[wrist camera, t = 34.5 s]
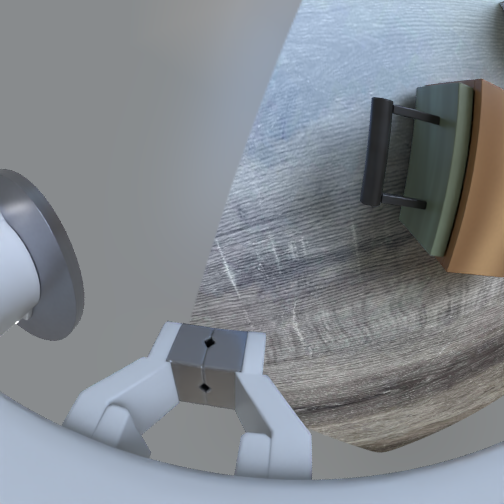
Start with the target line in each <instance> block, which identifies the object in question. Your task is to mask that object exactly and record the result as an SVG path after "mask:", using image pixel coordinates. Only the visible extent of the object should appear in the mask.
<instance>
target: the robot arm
mask: <svg viewBox="0 0 504 504" xmlns="http://www.w3.org/2000/svg"><path fill="white" fill-rule="evenodd" d="M39 299H40V283H39V278H38V274H37V271H36V268H35V266H34V263H33V261H32V258H31V256H30V254H29V252H28V250H27V249H26V247H25V245H24V243H23V242H22V240H21V239H20V237H19V236H18V235H17V234H16V232H15V231H14V230H13V229H12V228H11V227H10V226H9V225H8V224H7V222H6V221H5V219H4V217H3V216H2V214H1V212H0V337H1V336H2V335H3V334H4V333H5V332H6V331H8V330H9V329H10V328H11V327H12V326H13V325H15V324H17V323H18V321H19V320H21V319H22V318H23V319H24V320H28V319H29V318H31V316H32V309H33V307H34V306H35V305H37V303H38V302H39ZM265 342H266V333H264V332H251V331H249V332H248V331H238V330H228V329H218V328H210V327H204V326H197V325H191V324H185V323H183V324H182V323H176V322H171V321H167V322H166V323H165V324H164V325H163V327H162V329H161V331H160V333H159V335H158V337H157V339H156V341H155V343H154V345H153V347H152V349H151V351H150V353H149V355H148V357H147V358H146V357H141V358H139V359H138V360H136V361H134V362H133V363H131V364H129V365H128V366H126V367H124V368H122V369H120V370H119V371H117V372H115V373H113V374H112V375H110V376H108V377H106V378H105V379H103V380H101V381H99V382H97V383H96V384H94V385H92V386H90V387H89V388H87V389H85V390H83V391H82V392H81V393H80V394H79V396H78V397H77V399H76V401H75V403H74V404H73V406H72V408H71V410H70V411H69V413H68V415H67V417H66V419H65V420H64V422H63V424H62V426H61V425H59V424H57V423H55V422H53V421H51V420H49V419H47V418H45V417H43V416H41V415H39V414H37V413H35V412H34V411H32V410H30V409H28V408H26V407H24V406H23V405H21V404H20V403H18V402H16V401H15V400H13V399H11V398H10V397H8V396H7V395H5V394H3V393H2V392H0V504H504V441H502V442H500V443H498V444H495V445H492V446H490V447H488V448H485V449H482V450H479V451H476V452H473V453H470V454H467V455H464V456H461V457H458V458H455V459H451V460H448V461H444V462H440V463H437V464H433V465H429V466H425V467H420V468H415V469H411V470H405V471H400V472H394V473H388V474H382V475H373V476H366V477H356V478H343V479H324V480H312V437H311V433H310V432H309V431H308V429H307V428H306V427H305V425H304V424H303V423H302V422H301V420H300V419H299V418H298V416H297V415H296V414H295V412H294V411H293V409H292V408H291V407H290V405H289V404H288V403H287V401H286V400H285V399H284V397H283V396H282V394H281V393H280V392H279V390H278V389H277V388H276V386H275V385H274V383H273V382H272V381H271V379H270V378H269V376H268V375H262V373H263V363H264V352H265ZM179 401H183V402H189V403H195V404H202V405H209V406H214V407H220V408H227V409H233V410H235V412H236V414H237V416H238V418H239V420H240V422H241V424H242V426H243V428H244V430H245V432H246V433H245V434H243V435H242V436H241V440H240V446H239V451H238V458H237V463H236V469H235V474H234V475H226V474H219V473H213V472H207V471H201V470H196V469H191V468H186V467H181V466H177V465H173V464H168V463H164V462H160V461H157V460H153V459H149V457H150V455H151V451H150V450H149V448H148V446H147V444H146V443H145V441H144V439H143V437H142V436H141V435H142V434H143V433H144V432H146V431H147V430H148V429H149V428H150V427H152V426H153V425H154V424H155V423H156V422H157V421H159V420H160V419H161V418H162V417H163V416H165V415H166V414H167V413H168V412H169V411H170V410H172V409H173V408H174V407H175V406H176V405H177V404H178V403H179Z"/></svg>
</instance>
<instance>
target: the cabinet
mask: <svg viewBox="0 0 504 504" xmlns="http://www.w3.org/2000/svg"><path fill="white" fill-rule="evenodd" d="M457 82H460V83H463V84H465V85H468V86H470V87H472V88H473V104H474V117H473V128H472V137H471V145H470V152H469V159H468V165H467V171H466V177H465V182H464V187H463V192H462V196H461V201H460V205H459V209H458V213H457V217H456V221H455V225H454V229H453V232H452V236H451V239H449V240H448V244H447V247H446V250H445V253H444V256H443V257H438V256H434V257H435V258H436V259H437V261H438V262H439V263H440V264H441V265H442V267H443V268H444V269H445V271H446V272H452V273H463V274H473V275H484V276H495V277H504V90H503V89H501V88H500V87H498V86H496V85H494V84H492V83H490V82H488V81H486V80H484V79H475V80H464V81H455V82H446V83H438V84H431V85H439V84H447V83H457ZM431 85H425V86H431Z"/></svg>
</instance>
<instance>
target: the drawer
mask: <svg viewBox="0 0 504 504" xmlns="http://www.w3.org/2000/svg"><path fill="white" fill-rule="evenodd" d="M392 114H396V115H400V116H404V117H409V118H413V119H414V129H413V138H412V146H411V154H410V161H409V167H408V174H407V180H406V185H405V191H404V196H400V195H394V194H388V193H382V190H383V184H384V178H385V171H386V164H387V157H388V149H389V141H390V132H391V122H392ZM473 117H474V104H473V88H472V87H470V86H468V85H465V84H463V83H460V82H457V83H447V84H439V85H431V86H424V87H417V93H416V108H415V110H414V109H410V108H406V107H402V106H398V105H393V101H391V100H388V99H384V98H377V97H373V98H372V102H371V114H370V125H369V136H368V145H367V153H366V161H365V169H364V176H363V183H362V190H361V196H360V202H361V203H363V204H366V205H369V206H379V205H380V202H381V203H386V204H392V205H399V206H401V211H400V216H399V220H400V221H401V223H402V224H403V225H404V226H405V227H406V228H407V229H408V230H409V232H410V233H411V234H412V235H413V236H414V237H415V238H416V240H417V241H418V242H419V243H420V244H421V245H422V247H423V248H424V249H425V250H426V251H427V253H428V254H429V255H430V256H438V257H443V256H444V253H445V250H446V247H447V244H448V240H449V239H451V236H452V232H453V229H454V225H455V221H456V217H457V213H458V209H459V205H460V201H461V196H462V192H461V188H462V183H463V178H464V173H465V167H466V161H467V154H468V147H470V145H471V137H472V128H473Z"/></svg>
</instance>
